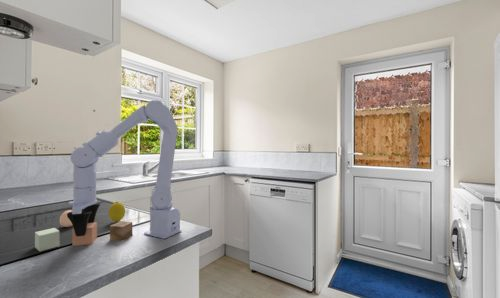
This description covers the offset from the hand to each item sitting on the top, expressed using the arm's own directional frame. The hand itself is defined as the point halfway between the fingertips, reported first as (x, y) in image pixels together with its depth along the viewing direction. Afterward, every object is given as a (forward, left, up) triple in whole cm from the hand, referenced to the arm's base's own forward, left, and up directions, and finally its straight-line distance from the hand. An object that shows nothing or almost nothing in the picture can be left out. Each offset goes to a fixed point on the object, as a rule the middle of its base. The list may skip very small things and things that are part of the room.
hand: (85, 231), depth 72 cm
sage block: (+6, +7, -3) cm, 10 cm away
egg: (+19, -5, -3) cm, 20 cm away
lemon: (+8, -16, -3) cm, 18 cm away
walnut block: (-7, -7, -3) cm, 11 cm away
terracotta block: (0, 0, -3) cm, 3 cm away
